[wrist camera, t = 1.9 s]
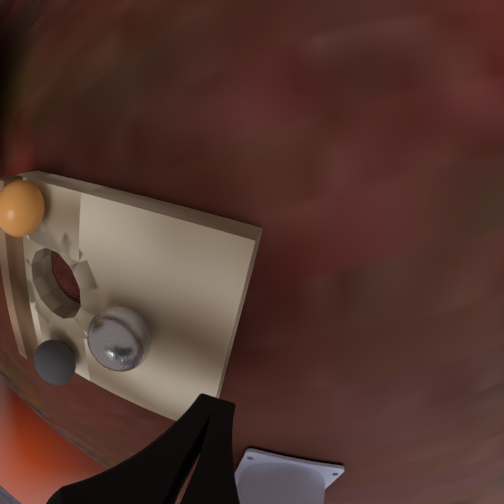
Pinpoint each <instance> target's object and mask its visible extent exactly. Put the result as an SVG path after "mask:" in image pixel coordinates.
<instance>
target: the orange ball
mask: <svg viewBox="0 0 504 504" xmlns="http://www.w3.org/2000/svg"><path fill="white" fill-rule="evenodd" d="M44 211H45V203H44V198H43V195H42V193H41V191H40V189H39V188H38V187H37V186H36V185H35V184H34V183H32V182H30V181H27V180H16V181H13V182H11V183H9V184H8V185H6V186H5V187H4V188H3V189H2V191H1V192H0V227H1V229H2V230H3V231H4V232H6V233H7V234H8V235H11V236H14V237H24V236H27V235H29V234H31V233H32V232H33V231H35V230H36V229H37V227H38V226H39V225H40V223H41V221H42V219H43V216H44Z"/></svg>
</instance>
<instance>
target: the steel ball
mask: <svg viewBox="0 0 504 504" xmlns="http://www.w3.org/2000/svg"><path fill="white" fill-rule="evenodd" d="M87 343H88V347H89V350H90V352H91V354H92V355H93V357H94V358H95V359H96V361H97V362H98V363H99V364H101V365H102V366H103V367H105V368H107V369H109V370H112V371H117V372H125V371H130V370H133V369H135V368H137V367H138V366H139V365H141V364H142V363H143V362H144V361H145V359H146V358H147V356H148V354H149V351H150V348H151V334H150V330H149V327H148V325H147V323H146V322H145V320H144V319H143V318H142V317H141V315H139V314H138V313H137V312H136V311H134V310H132V309H130V308H128V307H124V306H110V307H107V308H104V309H102V310H101V311H99V312H98V313H97V314H96V315H95V316H94V317H93V319H92V320H91V322H90V324H89V327H88V331H87Z"/></svg>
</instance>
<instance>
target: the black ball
mask: <svg viewBox="0 0 504 504" xmlns="http://www.w3.org/2000/svg"><path fill="white" fill-rule="evenodd" d="M34 363H35V367H36V370H37V372H38V374H39V375H40V376H41V377H42V378H43V379H44V380H45V381H47V382H49V383H51V384H56V385H60V384H64V383H66V382H68V381H69V380H70V379H71V378H72V377H73V375H74V373H75V369H76V360H75V357H74V354H73V352H72V351H71V349H70V348H69V347H68V346H67V345H66V344H65V343H63V342H61V341H59V340H46V341H44V342H42V343H41V344H40V345H39V346H38V348H37V349H36V351H35V355H34Z"/></svg>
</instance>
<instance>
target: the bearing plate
mask: <svg viewBox="0 0 504 504" xmlns="http://www.w3.org/2000/svg"><path fill="white" fill-rule="evenodd" d="M16 180H27V181H30V182H32V183H34V184H35V185H36V186H37V187H38V188H39V189H40V191H41V193H42V195H43V198H44V203H45V211H44V216H43V219H42V221H41V223H40V225H39V226H38V227H37V229H36V230H35V231H33V232H32V233H31V234H29V235H27V236H24V237H14V236H11V235H8V234H7V233H6V232H4V231H3V230H2V229H1V227H0V263H1V271H2V278H3V284H4V290H5V295H6V300H7V305H8V310H9V315H10V319H11V323H12V327H13V331H14V335H15V339H16V343H17V346H18V350H19V353H20V354H21V355H22V356H23V357H25V358H26V359H27V360H28V359H29V358H30V357H32V356H33V355H34V354H35V351H36V349H37V348H38V346H39V345H40V344H41V343H42V342H44V341H46V340H59V341H61V342H63V343H65V344H66V345H67V346H68V347H69V348H70V349H71V351H72V352H73V354H74V357H75V360H76V369H75V372H76V373H77V374H79V375H81V376H82V377H84V378H86V379H88V380H90V381H91V382H93V383H95V384H97V385H99V386H101V387H102V388H104V389H106V390H108V391H110V392H112V393H114V394H116V395H118V396H120V397H122V398H124V399H126V400H128V401H130V402H133V403H135V404H137V405H139V406H141V407H144V408H146V409H148V410H150V411H153V412H155V413H157V414H160V415H162V416H165V417H167V418H170V419H172V420H175V421H177V420H178V419H179V418H180V417H181V416H182V415H183V414H184V413H185V412H186V411H187V410H188V409H189V407H190V406H191V405H192V404H193V402H194V401H195V400H196V399H197V397H198V396H199V394H201V393H204V394H207V395H210V396H213V397H216V398H219V396H220V392H221V388H222V384H223V381H224V377H225V373H226V369H227V366H228V362H229V358H230V354H231V350H232V347H233V343H234V339H235V335H236V331H237V327H238V324H239V320H240V316H241V312H242V308H243V304H244V301H245V297H246V293H247V289H248V285H249V281H250V278H251V274H252V270H253V266H254V262H255V258H256V254H257V250H258V247H259V243H260V239H261V235H262V231H263V228H260V227H257V226H253V225H250V224H246V223H243V222H239V221H235V220H232V219H228V218H224V217H221V216H217V215H213V214H210V213H206V212H202V211H199V210H195V209H191V208H187V207H184V206H180V205H176V204H172V203H168V202H165V201H161V200H157V199H153V198H149V197H145V196H141V195H137V194H133V193H129V192H125V191H121V190H117V189H113V188H109V187H105V186H101V185H97V184H93V183H89V182H85V181H80V180H76V179H72V178H68V177H63V176H59V175H55V174H50V173H46V172H42V171H31V172H26V173H21V174H16V175H12V176H7V177H3V178H0V192H1V191H2V189H3V188H4V187H5V186H6V185H8V184H9V183H11V182H13V181H16ZM52 251H55V252H57V253H59V254H60V256H61V257H62V258H63V259H64V260H65V262H66V263H67V264H68V265H69V266H70V268H71V269H72V271H73V274H74V276H75V279H76V281H77V283H78V286H79V288H80V300H81V304H79V303H77V302H75V301H73V300H71V299H69V297H68V296H67V295H66V294H65V293H64V292H63V290H62V289H61V288H60V287H59V285H58V283H57V281H56V278H55V276H54V273H53V271H52V257H51V254H52ZM110 306H124V307H128V308H130V309H132V310H134V311H136V312H137V313H138V314H139V315H141V317H142V318H143V319H144V320H145V322H146V323H147V325H148V327H149V330H150V334H151V348H150V351H149V354H148V356H147V358H146V359H145V361H144V362H143V363H142V364H141V365H139V366H138V367H137V368H135V369H133V370H130V371H125V372H117V371H112V370H109V369H107V368H105V367H103V366H102V365H101V364H99V363H98V362H97V361H96V359H95V358H94V357H93V355H92V354H91V352H90V350H89V347H88V343H87V331H88V327H89V324H90V322H91V320H92V319H93V317H94V316H95V315H96V314H97V313H98V312H99V311H101V310H102V309H104V308H107V307H110Z"/></svg>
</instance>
